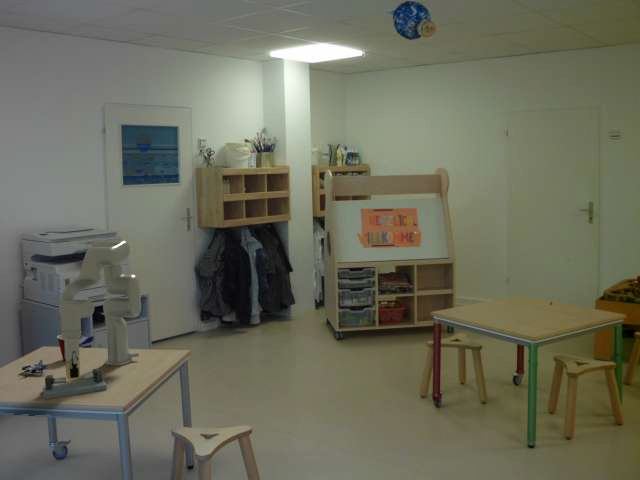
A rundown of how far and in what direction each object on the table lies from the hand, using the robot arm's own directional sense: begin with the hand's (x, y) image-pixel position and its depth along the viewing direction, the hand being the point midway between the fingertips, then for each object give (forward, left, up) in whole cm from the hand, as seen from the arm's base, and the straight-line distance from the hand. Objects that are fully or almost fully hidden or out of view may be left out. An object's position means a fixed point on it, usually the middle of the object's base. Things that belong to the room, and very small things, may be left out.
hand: (73, 375), depth 287 cm
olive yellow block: (0, 0, -1) cm, 1 cm away
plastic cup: (-4, -51, -7) cm, 52 cm away
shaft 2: (-7, -1, -4) cm, 9 cm away
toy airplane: (+14, -34, -7) cm, 38 cm away
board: (0, 0, -6) cm, 6 cm away
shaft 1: (+7, -1, -4) cm, 8 cm away
